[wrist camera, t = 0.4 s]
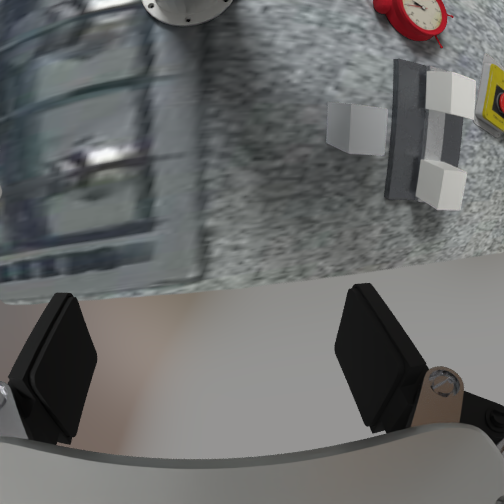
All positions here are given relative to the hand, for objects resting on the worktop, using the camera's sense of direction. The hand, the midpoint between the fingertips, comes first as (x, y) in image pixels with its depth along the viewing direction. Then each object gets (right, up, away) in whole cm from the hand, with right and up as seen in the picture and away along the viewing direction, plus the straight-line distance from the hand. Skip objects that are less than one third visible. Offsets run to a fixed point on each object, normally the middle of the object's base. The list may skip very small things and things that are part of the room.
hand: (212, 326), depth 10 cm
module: (+14, +21, +30) cm, 39 cm away
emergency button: (+46, +32, +29) cm, 63 cm away
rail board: (+29, +21, +31) cm, 48 cm away
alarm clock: (+24, +40, +21) cm, 51 cm away
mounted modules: (+29, +20, +29) cm, 46 cm away
